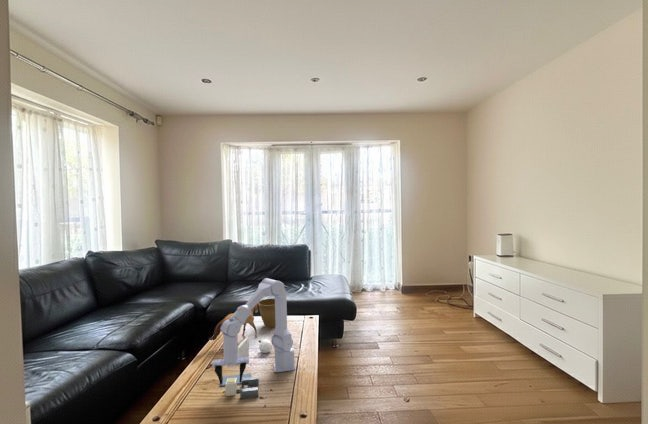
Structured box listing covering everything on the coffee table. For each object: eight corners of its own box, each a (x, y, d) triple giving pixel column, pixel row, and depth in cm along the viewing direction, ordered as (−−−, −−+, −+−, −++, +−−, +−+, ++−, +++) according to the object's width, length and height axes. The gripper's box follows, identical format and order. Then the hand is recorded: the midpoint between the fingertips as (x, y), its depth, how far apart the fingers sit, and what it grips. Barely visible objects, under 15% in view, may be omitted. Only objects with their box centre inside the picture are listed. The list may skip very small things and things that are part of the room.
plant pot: (274, 319, 208) (273, 296, 208) (285, 326, 197) (285, 301, 197) (254, 325, 199) (254, 301, 199) (265, 332, 187) (265, 306, 187)
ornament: (267, 356, 156) (258, 345, 156) (262, 355, 162) (254, 345, 162) (276, 346, 160) (267, 335, 160) (271, 346, 166) (263, 336, 166)
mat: (251, 374, 139) (251, 373, 139) (250, 382, 132) (250, 381, 132) (221, 377, 137) (221, 376, 137) (219, 386, 130) (219, 385, 130)
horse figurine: (257, 332, 187) (257, 299, 187) (264, 336, 182) (264, 302, 182) (208, 348, 166) (208, 311, 166) (214, 353, 160) (214, 315, 160)
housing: (258, 383, 132) (258, 376, 132) (258, 397, 122) (258, 389, 122) (242, 385, 131) (242, 378, 131) (240, 399, 121) (240, 391, 121)
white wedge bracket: (255, 349, 159) (248, 337, 156) (241, 365, 153) (234, 353, 149) (251, 347, 162) (244, 335, 158) (237, 363, 155) (229, 351, 152)
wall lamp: (248, 388, 128) (248, 376, 128) (247, 394, 124) (246, 381, 124) (227, 390, 127) (227, 377, 127) (225, 395, 123) (225, 383, 123)
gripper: (210, 355, 120) (211, 390, 120) (248, 352, 122) (248, 385, 122) (213, 348, 126) (213, 380, 127) (249, 344, 129) (249, 376, 129)
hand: (231, 382), depth 125 cm, fingers open, 7 cm apart
